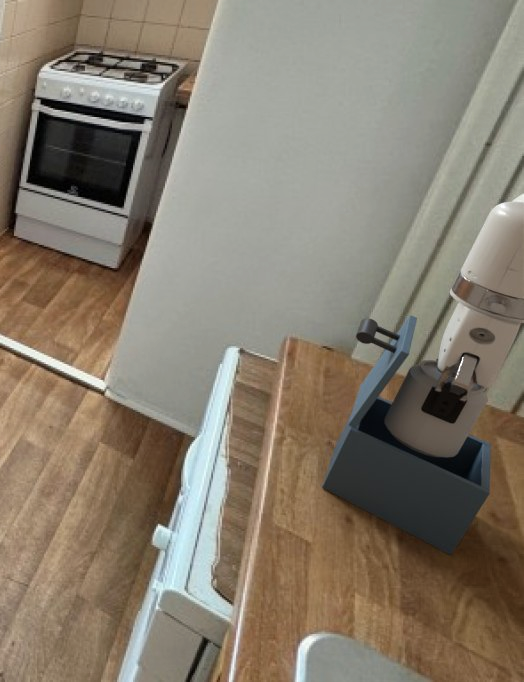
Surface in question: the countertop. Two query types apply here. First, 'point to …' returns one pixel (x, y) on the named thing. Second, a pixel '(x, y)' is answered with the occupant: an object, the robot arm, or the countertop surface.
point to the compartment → (410, 480)
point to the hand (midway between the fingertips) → (439, 401)
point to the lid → (381, 362)
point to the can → (427, 429)
